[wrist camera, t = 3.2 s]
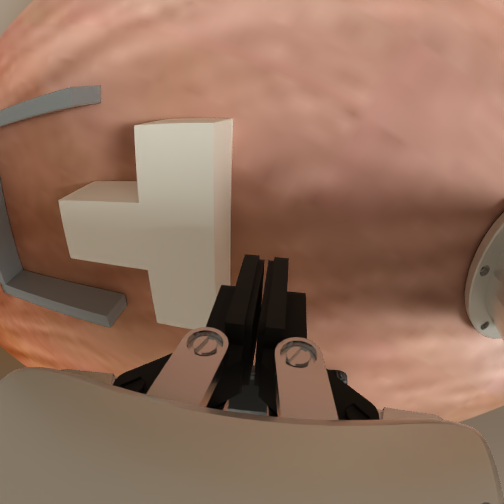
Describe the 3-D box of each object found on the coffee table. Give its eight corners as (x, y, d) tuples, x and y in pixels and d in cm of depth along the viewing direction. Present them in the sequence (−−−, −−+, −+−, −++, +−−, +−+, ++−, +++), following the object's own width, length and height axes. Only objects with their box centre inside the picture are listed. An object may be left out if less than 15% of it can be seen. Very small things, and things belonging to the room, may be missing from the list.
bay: (100, 85, 15) (70, 87, 13) (127, 305, 24) (110, 327, 21) (-12, 119, 17) (-35, 126, 15) (20, 277, 26) (3, 292, 23)
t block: (233, 118, 16) (214, 122, 12) (230, 295, 21) (217, 333, 18) (89, 125, 17) (50, 135, 13) (110, 277, 22) (85, 306, 19)
